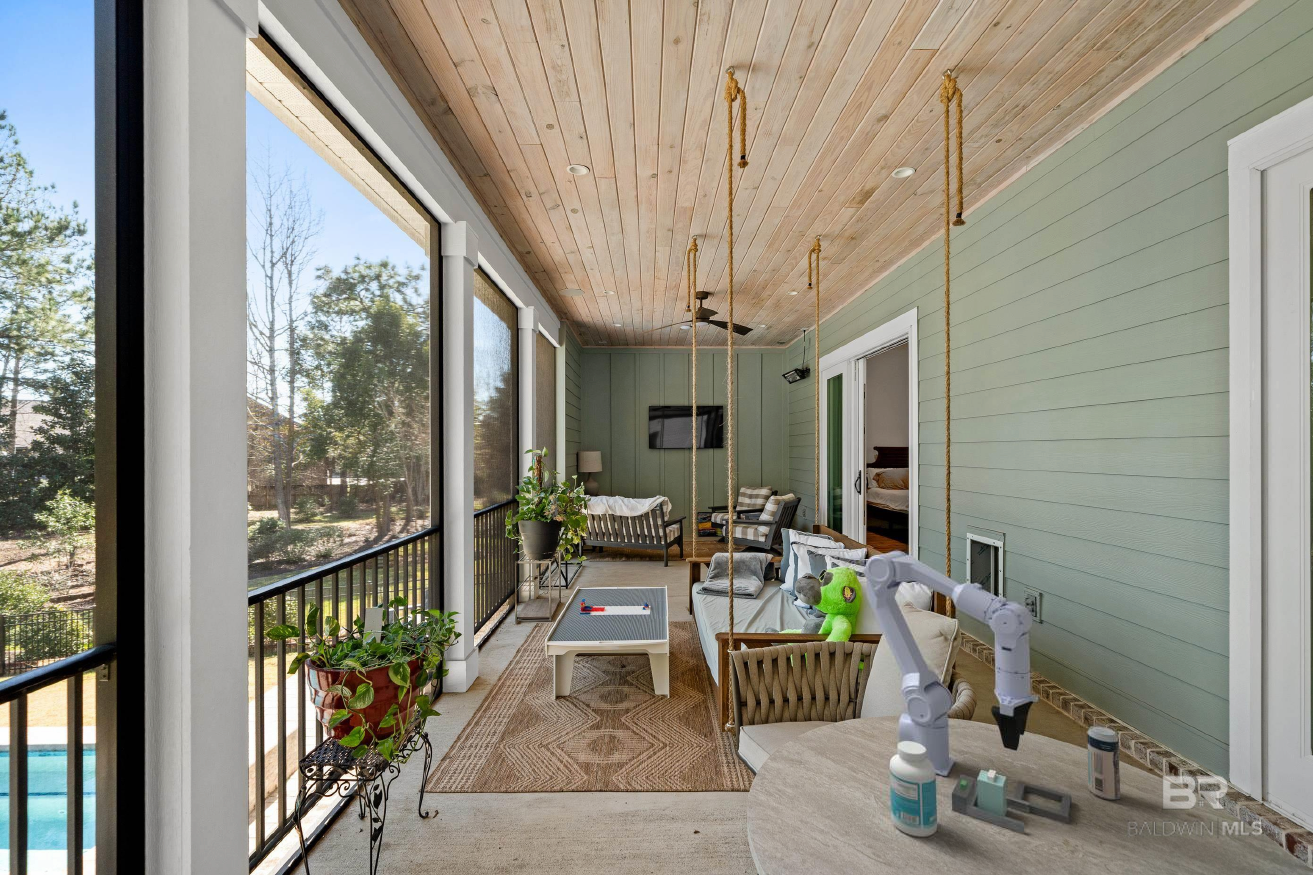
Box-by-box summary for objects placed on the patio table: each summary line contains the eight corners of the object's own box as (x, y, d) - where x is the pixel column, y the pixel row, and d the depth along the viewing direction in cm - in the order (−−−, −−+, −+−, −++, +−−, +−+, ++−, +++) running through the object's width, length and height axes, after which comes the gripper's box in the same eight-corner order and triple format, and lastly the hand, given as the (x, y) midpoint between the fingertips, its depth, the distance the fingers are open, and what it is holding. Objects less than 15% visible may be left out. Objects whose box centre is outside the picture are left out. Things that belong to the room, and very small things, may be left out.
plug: (977, 812, 107) (977, 774, 107) (982, 802, 110) (981, 765, 110) (1003, 821, 104) (1002, 781, 105) (1006, 810, 108) (1005, 772, 108)
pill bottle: (925, 812, 107) (924, 736, 107) (945, 839, 100) (943, 757, 100) (884, 812, 107) (882, 736, 107) (900, 839, 100) (899, 757, 100)
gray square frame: (1012, 806, 109) (1012, 799, 109) (1018, 786, 115) (1018, 780, 115) (1067, 823, 103) (1067, 816, 103) (1071, 801, 110) (1071, 795, 110)
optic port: (952, 809, 108) (951, 789, 108) (961, 789, 114) (961, 770, 114) (1024, 833, 101) (1023, 812, 101) (1029, 811, 107) (1029, 791, 107)
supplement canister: (1125, 802, 110) (1124, 737, 110) (1096, 800, 110) (1095, 734, 111) (1111, 788, 114) (1109, 725, 115) (1083, 785, 115) (1082, 723, 116)
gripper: (1031, 684, 105) (1033, 762, 104) (1042, 662, 116) (1044, 732, 115) (986, 675, 109) (988, 750, 109) (1001, 654, 120) (1002, 722, 120)
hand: (1014, 740), depth 112 cm, fingers open, 7 cm apart
